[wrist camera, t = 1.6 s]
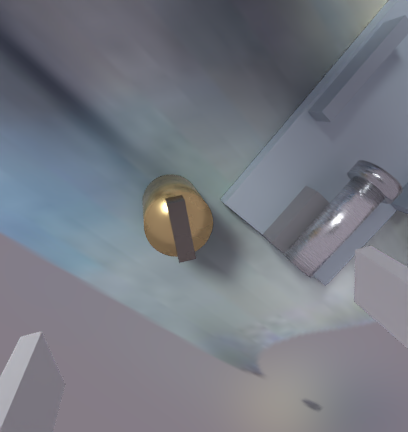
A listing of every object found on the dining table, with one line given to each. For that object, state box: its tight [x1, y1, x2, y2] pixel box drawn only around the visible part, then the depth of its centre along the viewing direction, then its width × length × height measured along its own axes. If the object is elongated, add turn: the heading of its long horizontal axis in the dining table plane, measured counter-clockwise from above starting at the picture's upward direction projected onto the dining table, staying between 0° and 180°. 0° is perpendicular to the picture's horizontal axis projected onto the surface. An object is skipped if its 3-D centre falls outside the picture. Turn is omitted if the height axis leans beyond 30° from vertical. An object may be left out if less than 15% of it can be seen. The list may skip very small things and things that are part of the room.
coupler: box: [143, 175, 213, 263], centre depth 24 cm, size 5×5×7 cm
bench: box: [220, 0, 408, 286], centre depth 28 cm, size 15×30×4 cm, turn 139°
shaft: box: [284, 160, 403, 278], centre depth 26 cm, size 4×10×4 cm, turn 139°
